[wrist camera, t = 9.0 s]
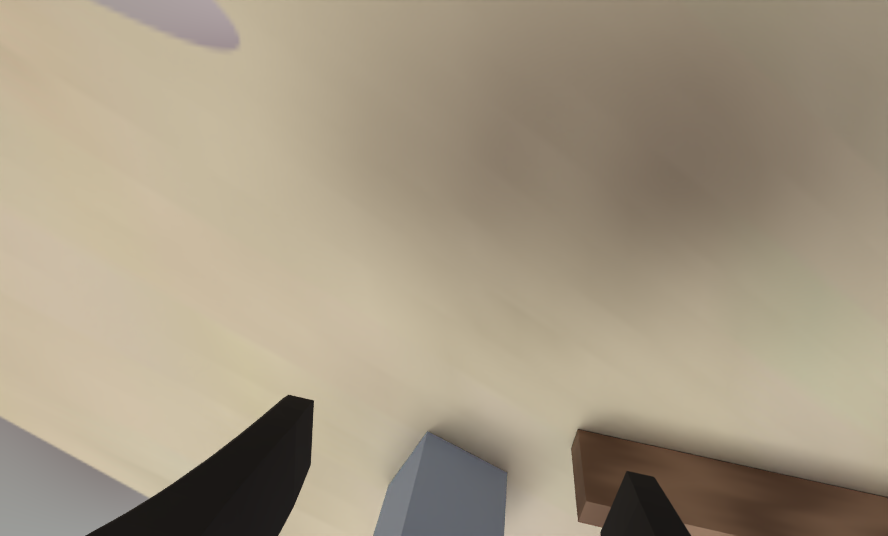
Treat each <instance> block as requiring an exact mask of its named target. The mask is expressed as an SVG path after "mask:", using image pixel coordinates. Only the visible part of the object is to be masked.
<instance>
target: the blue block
mask: <svg viewBox="0 0 888 536" xmlns="http://www.w3.org/2000/svg"><path fill="white" fill-rule="evenodd" d="M506 487H507V472H505V471H503V470H501V469H499V468H497V467H495V466H493V465H491V464H490V463H488V462H486V461H484V460H482V459H480V458H478V457H476V456H474V455H472V454H470V453H468V452H467V451H465V450H463V449H461V448H459V447H457V446H455V445H453V444H451V443H449V442H447V441H445V440H443V439H442V438H440V437H438V436H436V435H434V434H432V433H430V432H428V431H427V432H426V434H425V435H424V437H423V438H422V439H421V441H420V442H419V444H418V445H417V446H416V448H415V449H414V451H413V452H412V453H411V455H410V456H409V458H408V459H407V460H406V462H405V463H404V464H403V466H402V467H401V469H400V470H399V471H398V473H397V474H396V476H395V477H394V478H393V480H392V481H391V483H390V484H389V486H388V489H387V492H386V495H385V499H384V502H383V505H382V508H381V512H380V515H379V518H378V522H377V525H376V528H375V531H374V535H373V536H504V526H505V506H506Z"/></svg>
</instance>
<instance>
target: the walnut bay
mask: <svg viewBox="0 0 888 536" xmlns="http://www.w3.org/2000/svg"><path fill="white" fill-rule="evenodd" d="M571 452H572V462H573V473H574V484H575V494H576V505H577V515H578V522H581V523H585V524H590V525H594V526H598V527H603V525H604V523H605V520H606V518H607V516H608V513H609V511H610V509H611V506H612V504H613V501H614V499H615V497H616V494H617V492H618V490H619V487H620V485H621V483H622V480H623V478H624V476H625V473H626V471H630V472H635V473H639V474H644V475H648V476H653V477H655V479H656V480H657V482H658V483H659V485H660V487H661V488H662V490H663V491H664V493H665V494H666V496H667V498H668V499H669V501H670V502H671V504H672V506H673V507H674V509H675V510H676V512H677V514H678V515H679V517H680V518H681V520H682V522H683V523H684V525H685V526H686V528H687V530H688V531H689V533H690V534H691V536H888V498H886V497H882V496H877V495H873V494H868V493H864V492H859V491H855V490H850V489H846V488H841V487H836V486H832V485H827V484H823V483H818V482H814V481H809V480H805V479H800V478H796V477H791V476H787V475H782V474H777V473H773V472H768V471H764V470H759V469H755V468H750V467H746V466H741V465H737V464H732V463H728V462H723V461H718V460H714V459H709V458H705V457H700V456H696V455H691V454H687V453H682V452H678V451H673V450H669V449H664V448H659V447H655V446H650V445H646V444H641V443H637V442H632V441H628V440H623V439H619V438H614V437H610V436H605V435H600V434H596V433H591V432H587V431H582V430H578V431H577V434H576V436H575V439H574V442H573V445H572V448H571Z"/></svg>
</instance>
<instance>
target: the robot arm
mask: <svg viewBox="0 0 888 536" xmlns="http://www.w3.org/2000/svg"><path fill="white" fill-rule="evenodd" d="M313 408H314V400H309V399H305V398H301V397H296V396H292V395H288V396H286V397H284V398H283V399H282V400H281V401H279V402H278V403H277V404H276V405H275V406H274V407H272V408H271V409H270V410H269V411H268V412H266V413H265V414H264V415H263V416H262V417H260V418H259V419H258V420H257V421H256V422H254V423H253V424H252V425H251V426H249V427H248V428H247V429H246V430H245V431H243V432H242V433H241V434H240V435H238V436H237V437H236V438H234V439H233V440H232V441H231V442H229V443H228V444H227V445H225V446H224V447H223V448H222V449H220V450H219V451H218V452H216V453H215V454H214V455H212V456H211V457H210V458H208V459H207V460H206V461H204V462H203V463H201V464H200V465H199V466H197V467H196V468H194V469H193V470H191V471H190V472H189V473H187V474H186V475H184V476H183V477H182V478H180V479H179V480H177V481H176V482H174V483H173V484H171V485H170V486H168V487H167V488H165V489H164V490H162V491H161V492H159V493H158V494H156V495H155V496H153V497H151V498H150V499H148V500H147V501H145V502H143V503H142V504H140V505H138V506H137V507H135V508H134V509H132V510H130V511H129V512H127V513H126V514H123V515H122V516H120V517H118V518H116V519H115V520H113V521H111V522H109V523H108V524H106V525H104V526H102V527H100V528H98V529H97V530H95V531H93V532H91V533H89V534H88V535H86V536H278V535H279V533H280V531H281V530H282V528H283V526H284V524H285V522H286V520H287V518H288V516H289V515H290V513H291V511H292V509H293V507H294V505H295V502H296V500H297V497H298V495H299V493H300V490H301V488H302V485H303V483H304V480H305V478H306V475H307V473H308V470H309V468H310V465H311V448H312V428H313ZM600 533H601V536H691V534H690V533H689V531H688V530H687V528H686V526H685V525H684V523H683V522H682V520H681V518H680V517H679V515H678V514H677V512H676V510H675V509H674V507H673V506H672V504H671V502H670V501H669V499H668V498H667V496H666V494H665V493H664V491H663V490H662V488H661V487H660V485H659V483H658V482H657V480H656V479H655V477H653V476H648V475H644V474H639V473H635V472H630V471H626V473H625V476H624V478H623V480H622V483H621V485H620V487H619V490H618V492H617V494H616V497H615V499H614V501H613V504H612V506H611V509H610V511H609V513H608V516H607V518H606V520H605V523H604V525H603V527H602V530H601V532H600Z"/></svg>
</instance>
